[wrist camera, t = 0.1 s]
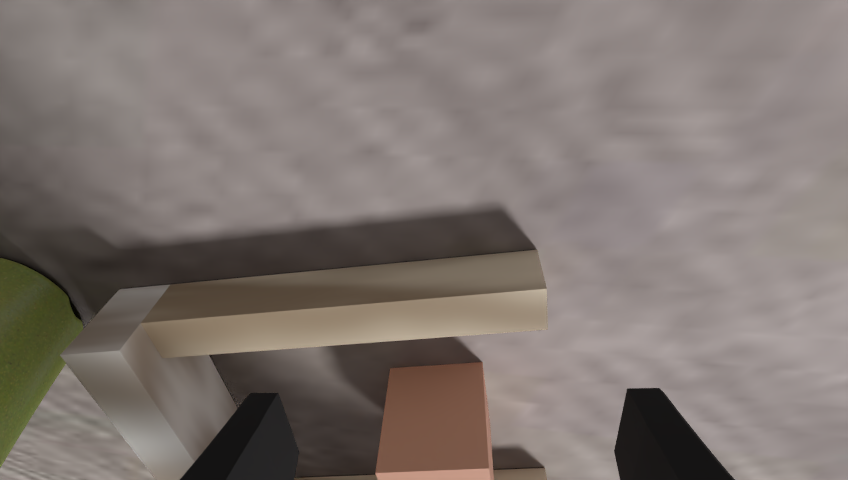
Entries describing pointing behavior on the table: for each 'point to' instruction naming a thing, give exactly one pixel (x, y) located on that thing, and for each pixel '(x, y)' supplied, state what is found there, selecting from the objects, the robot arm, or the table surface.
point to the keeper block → (436, 424)
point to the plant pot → (29, 345)
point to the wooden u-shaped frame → (280, 338)
